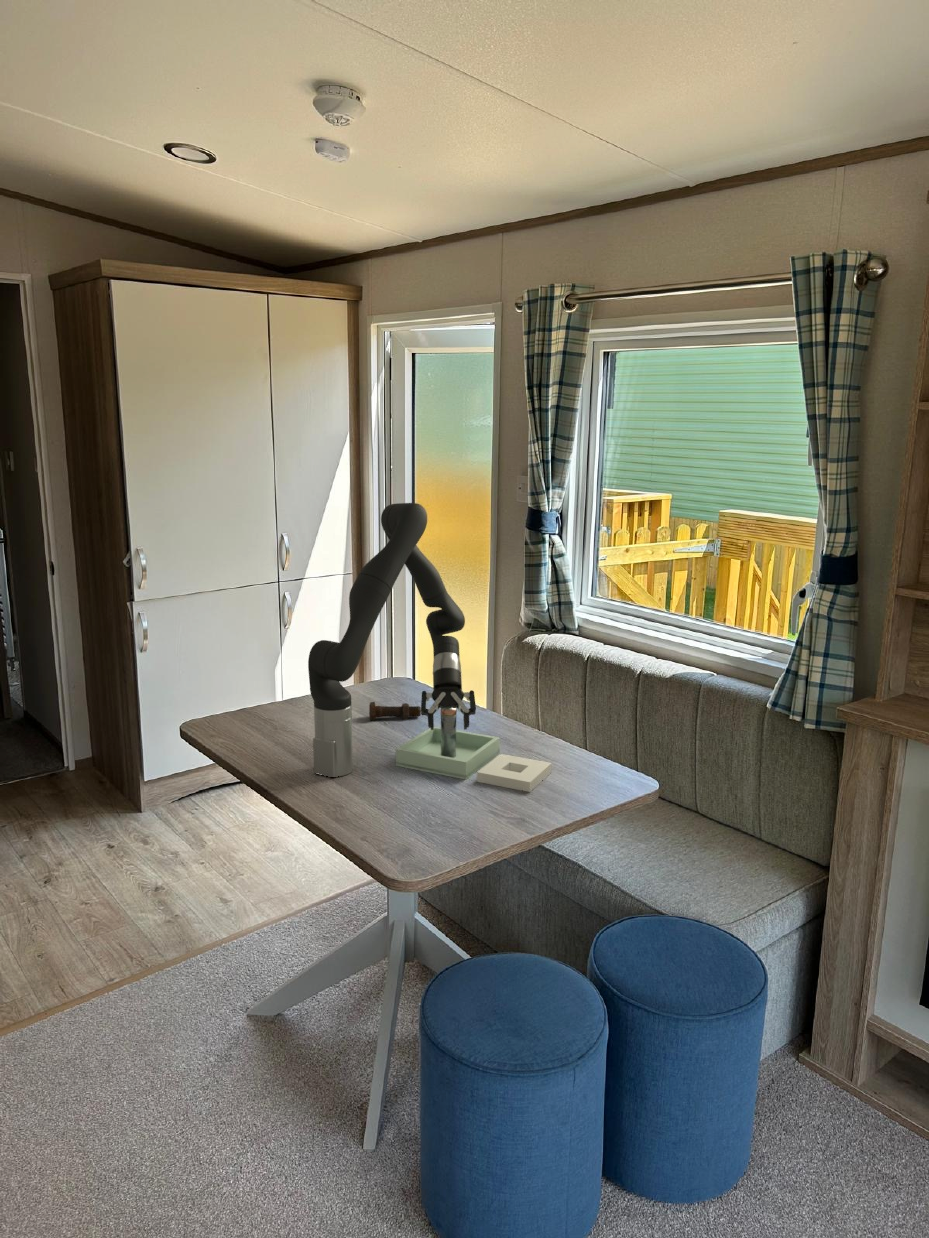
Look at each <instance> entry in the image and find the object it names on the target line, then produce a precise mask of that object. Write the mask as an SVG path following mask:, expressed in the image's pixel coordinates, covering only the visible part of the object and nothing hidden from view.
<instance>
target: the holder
mask: <svg viewBox="0 0 929 1238" xmlns="http://www.w3.org/2000/svg"><path fill="white" fill-rule="evenodd" d="M552 765H553V764H552V762H549V761H541V760H537V759H532V758H531V759H530V758H527V757H522V756H521V757H519V756H514V755H510V754H509V755H508V754H504V753H500V754H499V755H497V756H496V757H495V758H493V759H492V760H491V761H489V762H488V763H487V764H486V765H484V766H483V767H482V768H480V769H479V770H478V771H476V782H478V783H482V784H487V785H491V786H496V787H502V788H508V789H512V790H517V791H522V790H523V791H522V792H528V793H532V791H533V790H534V789H536V787H537V786H539V784H541V783H542V782H543V781H542V780H545V779H546V778H547V777H548V776H549V775H551V773H552Z"/></svg>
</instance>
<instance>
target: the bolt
mask: <svg viewBox="0 0 929 1238" xmlns="http://www.w3.org/2000/svg"><path fill="white" fill-rule="evenodd" d="M368 706H369V708H368V709H369V710H368V711H369V714H368V715H369V716H368V717H369V721H370V722H375V721H376V718H394V717H395V718H396V717H397V718H401V719H402V720H409V718H410V717H412V718H414V717H416V718H417V717H421V716H422V715H421V705H420V706H412V705H411V706H410V704H409V703H407V702H406V703H405V702H404V703H402V704H401V706H400V705H399V706H395V705H394V706H393V705H391V706H386V705H385V706H383V705H376V702H375V701H370V702H369V705H368Z"/></svg>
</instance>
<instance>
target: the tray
mask: <svg viewBox="0 0 929 1238" xmlns="http://www.w3.org/2000/svg"><path fill="white" fill-rule="evenodd" d="M500 741H501V738H500V737H498V736H493V735H487V734H481V733H474V732H470V731H469V732H468V731H465V730H464V731H463V730H460V729H459V730H458V729H456V757H454V758H451V757H446V756H441V726H435V725H434V730H431V728H429V727H428V729H426V730H425V731H422V732H421V733H419V734H418V735H416V736H415V737H413V738H412V739H410V740H408V741H405V743H403V744H402V745H399V747H396V749H395V766H396V767H401V768H406V769H411V770H416V771H422V772H427V773H432V774H437V775H441V776H446V777H447V776H448V777H451V778H456V779H461V780H468V779H469V778H470V777H471V776H473V775H474V774H475V773H477V772H478V771H479V770H480V769H482V768H483V767H484V766H486V765H487V764H488V763H490V762H491V761H492V760H493V759H495V758H496V757H497V756H499V755H500V754H501V753H500V749H501V748H500V744H501V742H500Z"/></svg>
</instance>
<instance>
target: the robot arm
mask: <svg viewBox="0 0 929 1238" xmlns="http://www.w3.org/2000/svg"><path fill="white" fill-rule="evenodd" d="M380 523H381V527H382V530H383V531H384V534H385V535H386V537H387V538H388V542H387V543H386V544H385V546H384V547H383V548H382V549H381V550H379V552H378V553H377V554H376V555H374V556H373V557H372V558H371V559H369V561H368V562H367V563H366V564H365V565H364V566H363V567H362V568H361V570H360V571H359V573H358V575H357V576H356V579H355V581H354V582H353V584H352V586H351V588H350V591H349V597H348V604H349V605H348V607H349V623H348V626H347V629H346V632H345V634H344V635H343V637H342V639H341V640H340V642H338V641H334V640H333V641H332V640H325V639H324V640H323V639H322V640H319V641H316V642H315V643H314V644H312V647H311V649H310V651H309V654H308V661H307V662H308V663H307V665H308V666H307V667H308V670H307V671H308V678H309V679H308V680H309V690H310V691H309V692H310V696H311V698H312V700H313V714H314V715H313V716H314V717H313V718H314V720H313V722H314V723H313V724H314V737H313V738H312V748H313V749H312V750H313V755H312V756H313V774H314V773H319V774H322V775H325V776H324V777H326V776H328V777H327V778H330V777H336V778H337V777H338V776H339V777H343V776H347V775H349V774H350V773H352V772H353V769H354V768H353V767H354V761H353V760H354V759H353V757H354V756H353V723H352V722H353V721H352V720H353V719H352V718H353V714H352V711H353V710H352V708H353V707H352V694H351V693H350V691H348V690H347V689H346V688H345V687H344V686H343V685H342V684H341V682H346V681H348V680H349V679H351V677H352V676H353V675H354V674H355V672H356V671H357V667H358V666H359V664H360V661H361V659H362V657H363V652H364V651H365V647H366V645H367V642H368V640H369V637H370V634H371V632H372V630H373V628H374V626H375V624H376V622H377V621H378V617H379V615H380V613H381V612H382V610H383V608H384V606H385V604H386V603H387V601H388V598H389V597H390V594H391V592H392V590H393V587H394V585H395V584H396V581H397V579H398V577H399V575H400V573H401V571H402V570H403V568H404V566H405V567H406V568H407V571H408V572H409V574H410V576H411V577H412V580H413V582H414V584H415V586H416V588H417V592H418V593H419V595H420V597H421V600H422V602H423V605H424V606H426V607H427V608H438V609H437V610H432V611H431V612H429V614H427V616H426V621H425V623H426V627H427V631H428V633H429V635H430V638H431V642H432V649H433V662H432V663H433V664H432V681H433V682H432V683H433V685H432V686H433V687H432V688H433V689H432V690H433V691H432V692H427V691H426V690H423V691H422V692H421V702H420V703H421V705H420V707H421V716H425V717H427V727H428V729H429V728H431V730H434V726H435V725H434V722H435V721H434V720H435V719H434V718H435V717H434V715H435V714H436V713H437V712H438V711H439V709H441V707H442V706H447V705H450V706H455V707H456V708H457V710H458V711H459V712H460V713H461V714H462V715H463V717H462V719H463V720H462V721H463V730H464V731H465V730H467V728H470V716H473V715H474V716H475V715H476V711H477V706H476V704H477V703H476V698H475V691H474V690H470V691H469V692H468V691H467V692H464V691H463V684H462V682H463V681H462V664H461V659H460V658H461V657H460V643H459V639H458V638H456V637H455V636H452V635H449V634H453V633H455V632H456V633H457V632H459V631H461V630H463V628H464V627H465V624H466V619H465V618H466V617H465V615H464V612H463V611H462V610H461V608H460V607H459V605H458V604H457V603H456V602H455V600H454V599H453V598H452V597H451V595H450V594H449V592H448V591H447V589H446V586H445V584H444V581H443V578H442V577H441V575H440V573H439V571H438V569H437V567H435V566H434V564H433V563H432V562H431V561H430V560H429V559H428V558H427V557H426V556H425V554H424V553H423V552H422V551H421V550H420V548H419V547H418V546H417V544H418V543H419V541H420V539H421V538H422V536H423V535H424V532H425V530H426V528H427V524H428V514H427V510H426V509H425V507H424V506H423V505H422V504H419V503H417V502H402V503H400V502H399V503H397V502H396V503H391V504H388V505H387V506H385V507H384V509H383V510H382V512H381V516H380ZM464 698H465V699H466V700H467V702H468V701H469V708H468V707H467V705H465V702H464V701H463V700H464ZM430 699H432V700H433V701H434V702H433V703H432V705H431V706H430V707H429V708H427V702H429V701H430Z"/></svg>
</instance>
